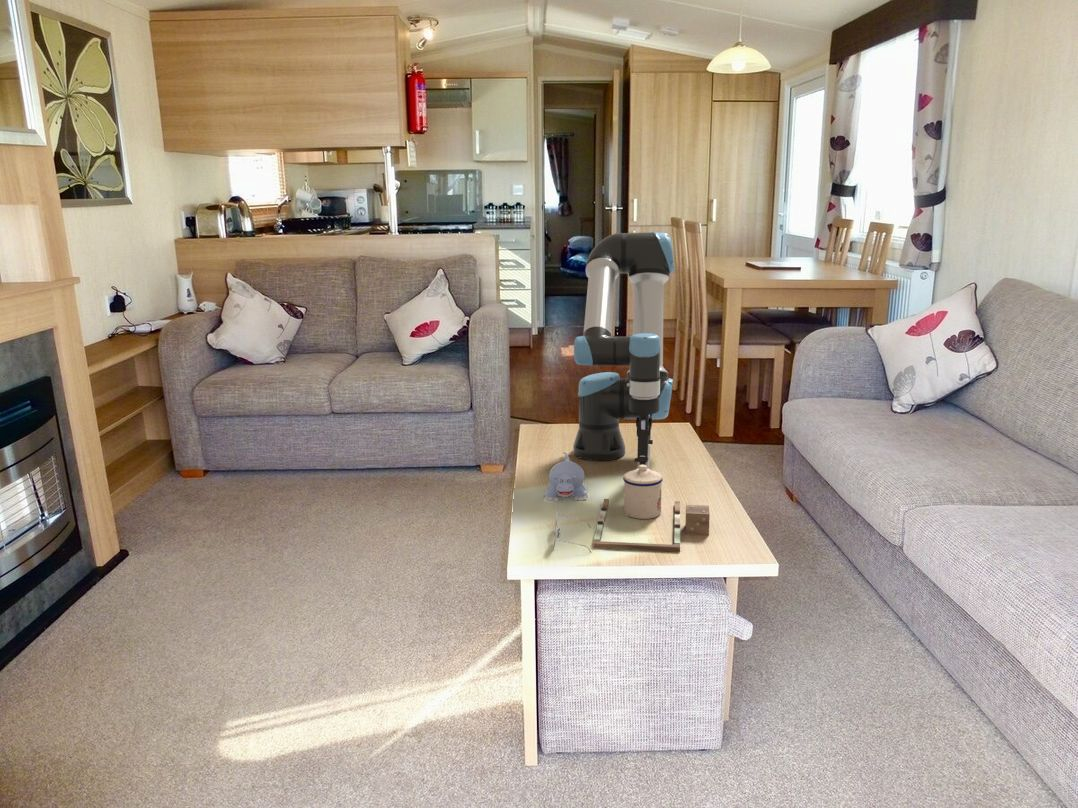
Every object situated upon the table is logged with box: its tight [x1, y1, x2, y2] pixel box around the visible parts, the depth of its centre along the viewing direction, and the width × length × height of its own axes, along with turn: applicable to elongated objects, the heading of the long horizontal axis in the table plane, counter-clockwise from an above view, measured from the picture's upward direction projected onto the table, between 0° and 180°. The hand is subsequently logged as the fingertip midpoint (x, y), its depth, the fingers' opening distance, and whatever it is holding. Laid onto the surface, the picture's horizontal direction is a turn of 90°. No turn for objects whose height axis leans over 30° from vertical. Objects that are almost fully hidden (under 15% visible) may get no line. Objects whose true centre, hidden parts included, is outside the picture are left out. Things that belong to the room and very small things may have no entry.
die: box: [685, 504, 711, 536], centre depth 176 cm, size 5×5×5 cm
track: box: [592, 498, 681, 553], centre depth 180 cm, size 26×18×2 cm
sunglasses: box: [552, 511, 592, 553], centre depth 173 cm, size 14×8×5 cm, turn 177°
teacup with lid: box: [622, 465, 663, 520], centre depth 187 cm, size 12×9×12 cm
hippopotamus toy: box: [543, 452, 589, 502], centre depth 197 cm, size 11×15×10 cm
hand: (643, 477), depth 203 cm, fingers open, 13 cm apart
